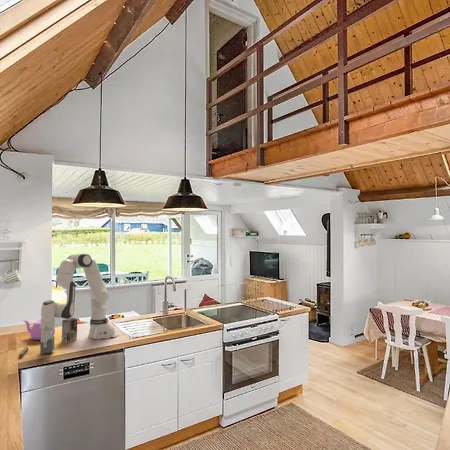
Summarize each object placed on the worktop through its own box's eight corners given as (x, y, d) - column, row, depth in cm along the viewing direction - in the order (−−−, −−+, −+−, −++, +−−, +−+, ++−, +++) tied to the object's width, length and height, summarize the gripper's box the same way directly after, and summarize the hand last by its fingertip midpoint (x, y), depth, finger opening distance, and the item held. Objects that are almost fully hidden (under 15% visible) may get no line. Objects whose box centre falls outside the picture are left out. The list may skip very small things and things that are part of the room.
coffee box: (71, 338, 271) (72, 317, 272) (77, 339, 268) (77, 318, 268) (61, 341, 263) (62, 319, 264) (66, 342, 260) (67, 321, 260)
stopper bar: (28, 350, 242) (28, 346, 242) (22, 357, 228) (22, 354, 228) (24, 350, 241) (25, 347, 241) (19, 358, 228) (19, 354, 228)
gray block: (54, 348, 244) (54, 336, 243) (52, 352, 236) (52, 339, 236) (42, 349, 241) (42, 337, 241) (40, 353, 234) (40, 340, 234)
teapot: (57, 332, 284) (58, 314, 284) (51, 340, 263) (52, 321, 263) (27, 333, 278) (27, 314, 278) (18, 342, 258) (19, 321, 258)
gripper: (49, 328, 230) (48, 349, 230) (55, 320, 249) (54, 339, 249) (38, 329, 228) (37, 350, 228) (45, 321, 248) (44, 340, 248)
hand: (46, 344), depth 239 cm, fingers closed on gray block, 7 cm apart
